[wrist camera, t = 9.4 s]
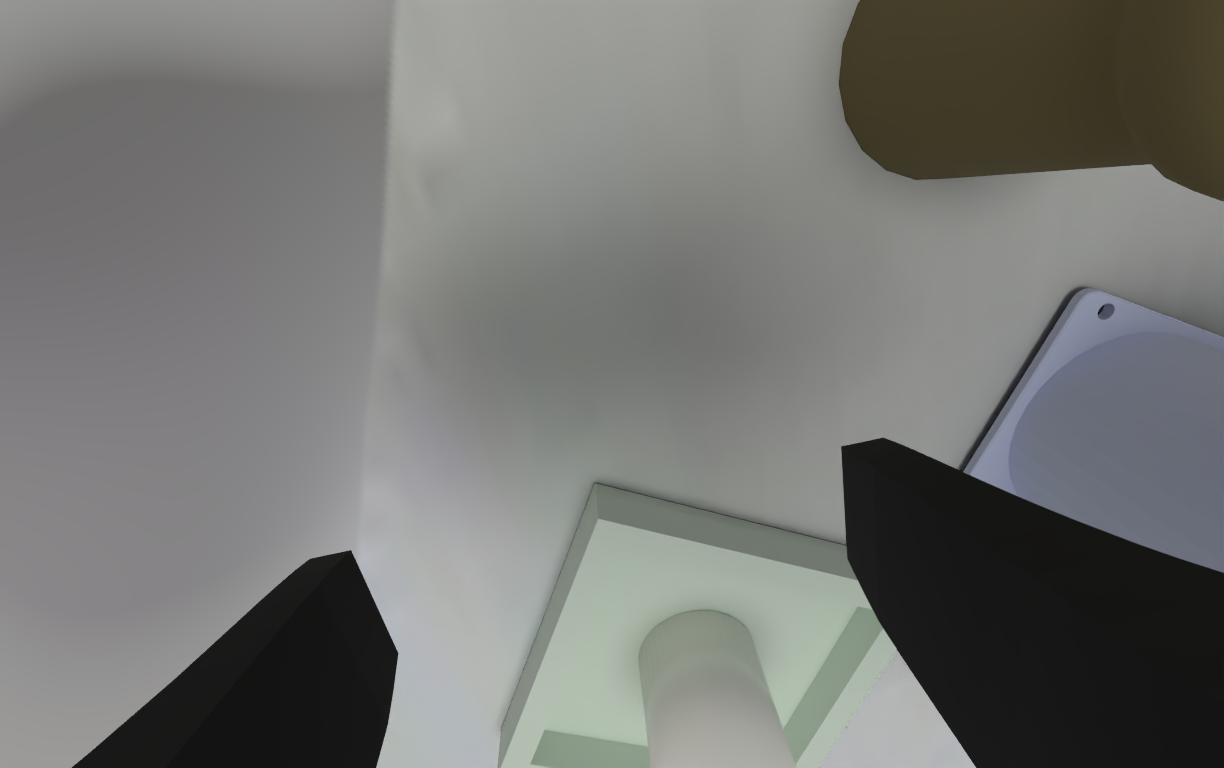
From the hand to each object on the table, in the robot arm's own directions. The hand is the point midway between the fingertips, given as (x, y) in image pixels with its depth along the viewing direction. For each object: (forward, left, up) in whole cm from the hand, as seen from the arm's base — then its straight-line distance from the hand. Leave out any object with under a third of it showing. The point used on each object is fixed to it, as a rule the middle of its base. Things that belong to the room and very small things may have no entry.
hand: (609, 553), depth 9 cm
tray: (-8, +11, -10) cm, 17 cm away
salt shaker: (-8, +11, -10) cm, 17 cm away
